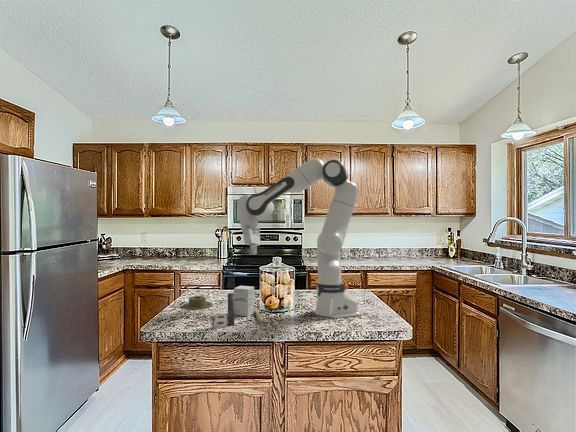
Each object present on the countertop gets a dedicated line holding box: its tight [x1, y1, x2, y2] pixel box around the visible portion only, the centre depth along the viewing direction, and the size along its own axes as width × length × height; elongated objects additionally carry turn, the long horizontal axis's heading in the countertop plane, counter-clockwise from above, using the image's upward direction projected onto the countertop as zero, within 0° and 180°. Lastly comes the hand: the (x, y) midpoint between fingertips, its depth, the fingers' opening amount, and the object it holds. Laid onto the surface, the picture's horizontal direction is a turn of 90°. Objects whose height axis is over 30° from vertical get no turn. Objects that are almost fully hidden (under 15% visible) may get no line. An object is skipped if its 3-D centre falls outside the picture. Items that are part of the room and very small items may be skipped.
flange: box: [181, 295, 213, 311], centre depth 183 cm, size 5×15×15 cm
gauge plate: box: [213, 314, 228, 329], centre depth 155 cm, size 5×16×1 cm, turn 9°
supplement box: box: [233, 285, 255, 317], centre depth 168 cm, size 7×7×13 cm
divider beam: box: [227, 292, 262, 327], centre depth 161 cm, size 14×21×13 cm, turn 9°
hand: (254, 253), depth 178 cm, fingers closed
